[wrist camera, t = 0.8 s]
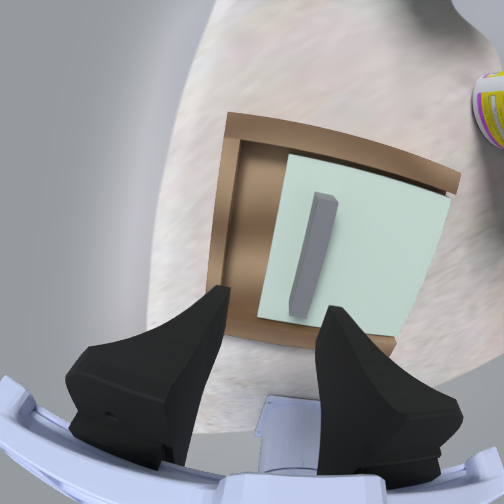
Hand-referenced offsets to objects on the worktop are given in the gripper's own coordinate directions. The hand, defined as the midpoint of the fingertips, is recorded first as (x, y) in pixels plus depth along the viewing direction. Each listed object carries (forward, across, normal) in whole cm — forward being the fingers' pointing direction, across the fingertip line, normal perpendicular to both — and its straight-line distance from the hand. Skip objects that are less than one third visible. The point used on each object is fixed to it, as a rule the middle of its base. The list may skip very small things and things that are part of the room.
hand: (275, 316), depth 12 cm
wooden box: (+10, -4, 0) cm, 11 cm away
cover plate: (+9, -6, 0) cm, 10 cm away
